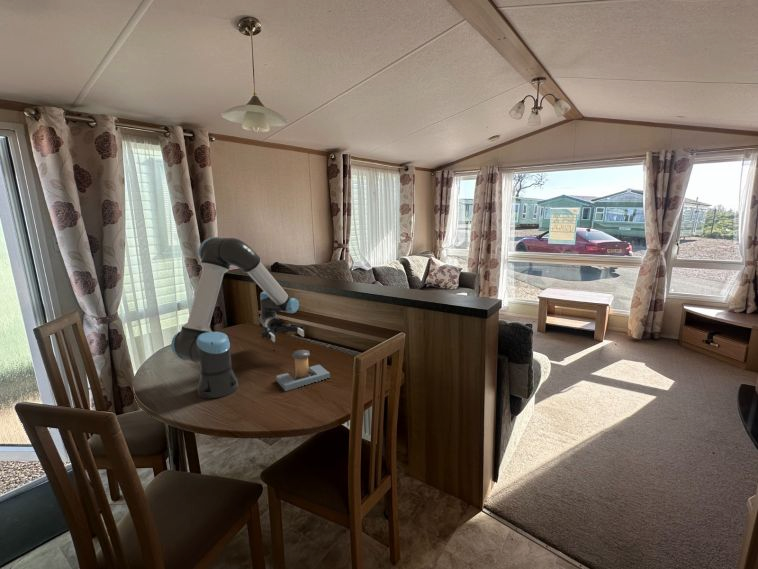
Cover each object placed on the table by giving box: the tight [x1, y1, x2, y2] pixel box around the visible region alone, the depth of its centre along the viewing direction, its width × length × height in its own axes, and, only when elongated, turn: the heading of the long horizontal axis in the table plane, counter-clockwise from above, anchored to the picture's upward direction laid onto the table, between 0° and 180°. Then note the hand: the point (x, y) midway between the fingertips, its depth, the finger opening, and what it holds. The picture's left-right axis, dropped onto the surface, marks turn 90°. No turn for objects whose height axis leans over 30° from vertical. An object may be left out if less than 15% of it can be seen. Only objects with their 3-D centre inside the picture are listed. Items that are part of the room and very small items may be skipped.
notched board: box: [275, 364, 331, 392], centre depth 154 cm, size 20×11×2 cm, turn 124°
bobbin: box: [292, 349, 312, 380], centre depth 154 cm, size 7×7×12 cm
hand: (289, 336), depth 162 cm, fingers open, 13 cm apart
